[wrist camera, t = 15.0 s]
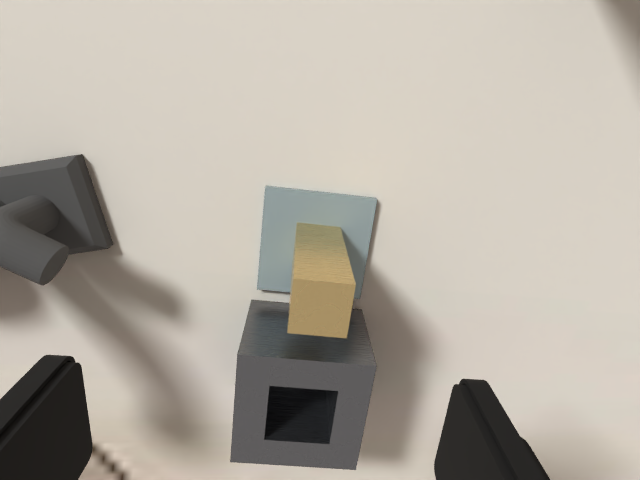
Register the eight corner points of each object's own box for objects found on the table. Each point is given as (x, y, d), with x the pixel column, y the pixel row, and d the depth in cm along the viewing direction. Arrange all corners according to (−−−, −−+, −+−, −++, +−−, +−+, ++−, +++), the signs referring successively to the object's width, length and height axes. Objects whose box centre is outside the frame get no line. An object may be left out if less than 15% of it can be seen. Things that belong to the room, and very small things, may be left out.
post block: (361, 309, 41) (376, 365, 33) (346, 398, 45) (355, 469, 36) (251, 299, 40) (237, 354, 32) (244, 390, 44) (230, 461, 35)
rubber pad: (376, 198, 37) (377, 199, 37) (359, 296, 41) (359, 298, 40) (265, 185, 37) (265, 187, 36) (257, 286, 40) (257, 289, 39)
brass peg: (340, 226, 37) (355, 284, 26) (334, 266, 39) (346, 338, 28) (296, 222, 37) (293, 278, 26) (292, 262, 39) (287, 333, 27)
